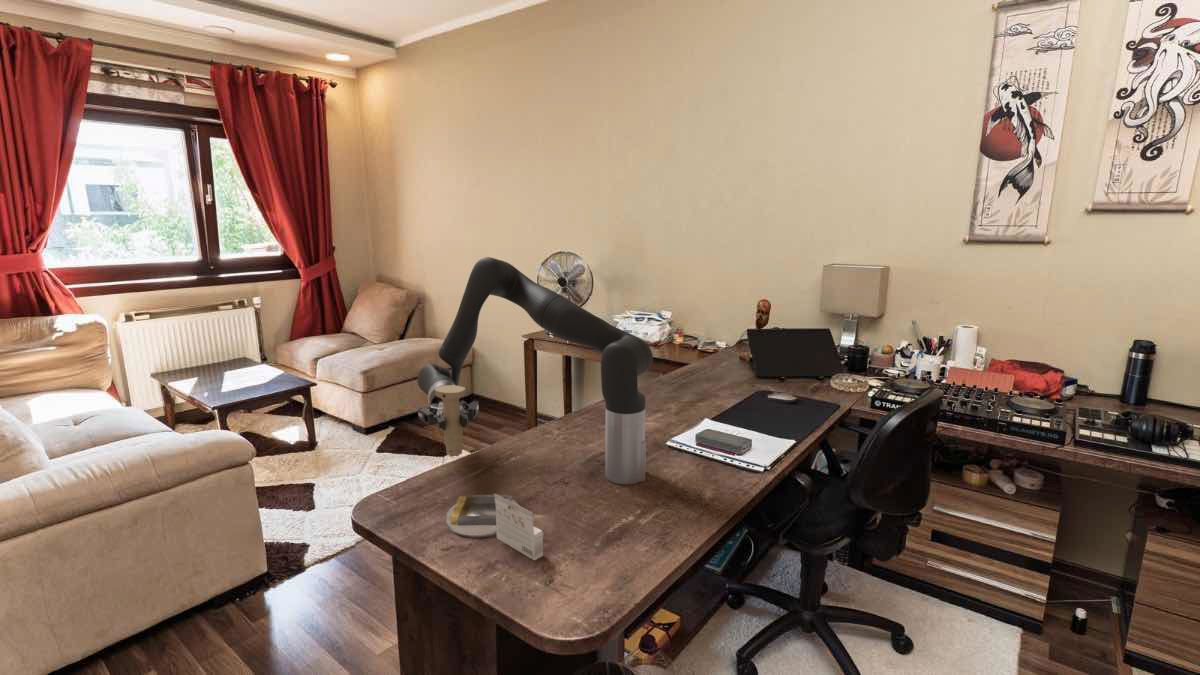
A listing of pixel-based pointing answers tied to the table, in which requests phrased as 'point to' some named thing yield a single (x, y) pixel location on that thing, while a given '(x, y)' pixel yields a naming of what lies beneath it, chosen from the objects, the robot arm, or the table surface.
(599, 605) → the table surface
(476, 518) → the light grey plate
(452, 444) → the handle
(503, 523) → the ink cartridge box
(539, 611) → the table surface
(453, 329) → the robot arm
